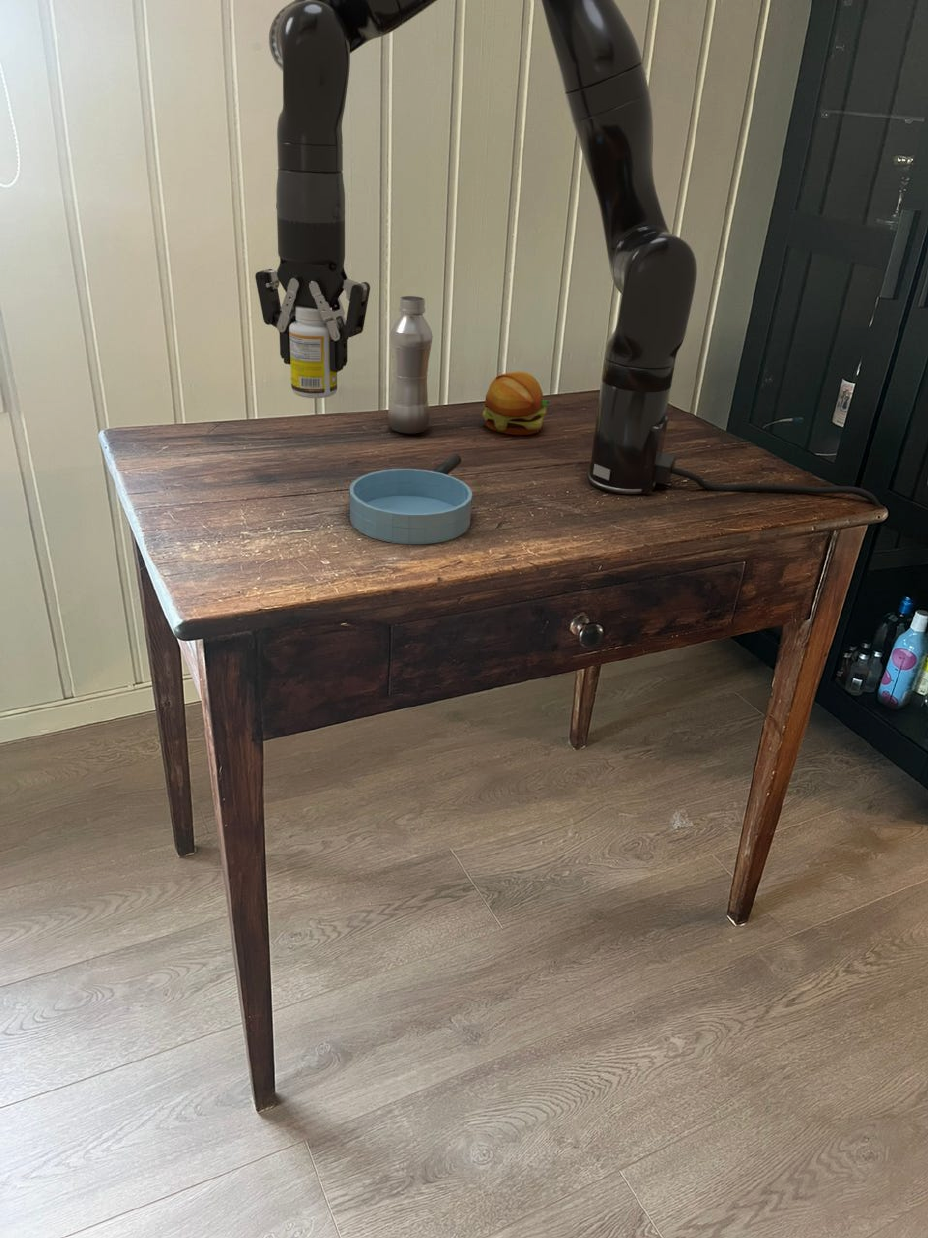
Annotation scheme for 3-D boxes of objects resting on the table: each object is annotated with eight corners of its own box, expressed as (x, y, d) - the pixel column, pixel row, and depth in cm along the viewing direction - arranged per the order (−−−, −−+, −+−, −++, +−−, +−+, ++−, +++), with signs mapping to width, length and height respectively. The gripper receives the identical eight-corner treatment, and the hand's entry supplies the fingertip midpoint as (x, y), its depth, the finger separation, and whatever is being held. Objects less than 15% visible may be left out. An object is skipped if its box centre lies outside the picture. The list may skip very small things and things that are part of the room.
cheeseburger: (550, 420, 156) (555, 365, 149) (538, 455, 149) (543, 399, 142) (490, 412, 158) (492, 357, 151) (475, 446, 150) (477, 390, 143)
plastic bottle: (396, 439, 144) (399, 303, 134) (381, 426, 149) (383, 294, 139) (435, 436, 146) (441, 302, 136) (419, 423, 151) (424, 293, 142)
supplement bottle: (323, 384, 118) (322, 299, 113) (345, 396, 115) (345, 309, 110) (282, 389, 115) (280, 302, 110) (304, 402, 112) (302, 312, 107)
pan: (486, 509, 122) (489, 482, 120) (443, 554, 110) (444, 524, 108) (381, 488, 126) (381, 461, 125) (327, 528, 114) (327, 499, 112)
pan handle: (438, 484, 123) (439, 473, 122) (427, 482, 123) (428, 471, 122) (462, 464, 130) (463, 453, 129) (451, 462, 130) (452, 451, 129)
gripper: (384, 218, 106) (381, 368, 115) (272, 205, 110) (277, 351, 119) (354, 225, 100) (353, 383, 108) (236, 210, 104) (244, 364, 112)
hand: (313, 366), depth 114 cm, fingers closed on supplement bottle, 5 cm apart
